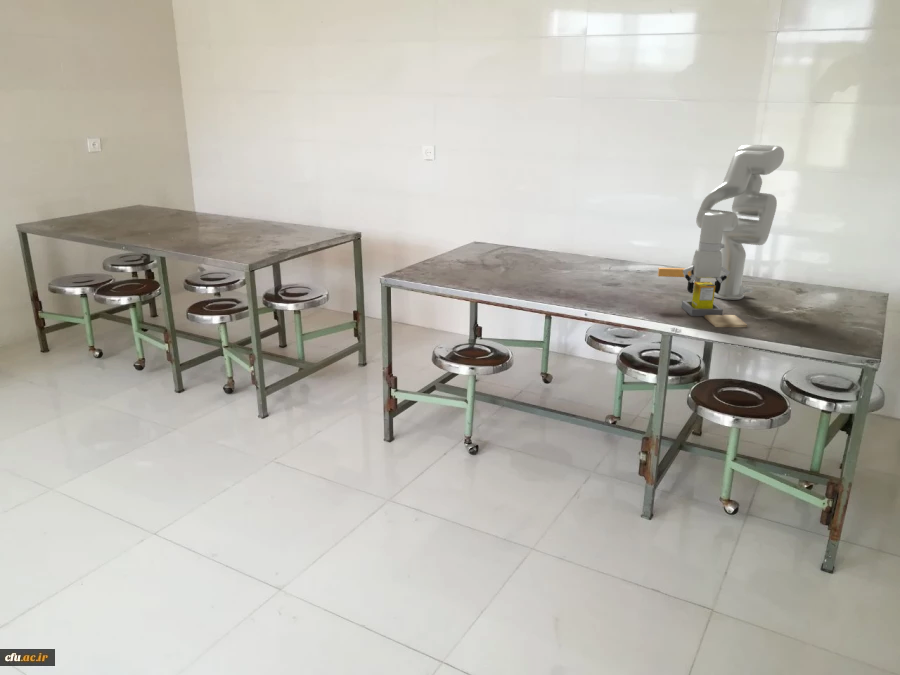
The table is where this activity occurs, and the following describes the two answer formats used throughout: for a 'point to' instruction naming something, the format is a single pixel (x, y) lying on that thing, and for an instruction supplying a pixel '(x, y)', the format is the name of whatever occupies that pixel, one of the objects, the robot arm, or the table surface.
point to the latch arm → (673, 273)
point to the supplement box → (703, 295)
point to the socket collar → (701, 312)
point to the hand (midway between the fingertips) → (703, 292)
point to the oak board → (725, 321)
